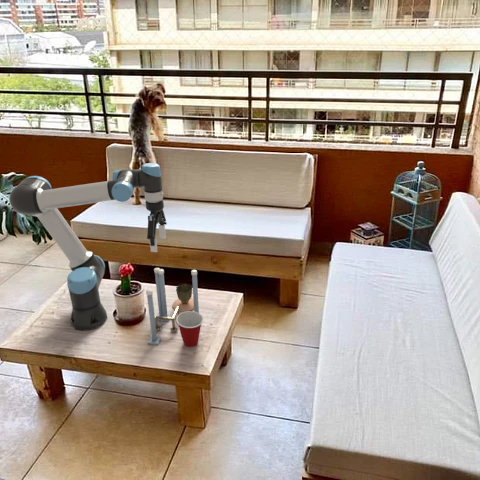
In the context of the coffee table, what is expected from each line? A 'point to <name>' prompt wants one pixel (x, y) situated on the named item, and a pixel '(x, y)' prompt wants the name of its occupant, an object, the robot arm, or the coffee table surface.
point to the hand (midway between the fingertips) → (158, 244)
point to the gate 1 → (149, 292)
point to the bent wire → (168, 319)
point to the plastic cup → (189, 327)
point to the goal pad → (184, 305)
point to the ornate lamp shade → (184, 293)
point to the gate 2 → (195, 291)
